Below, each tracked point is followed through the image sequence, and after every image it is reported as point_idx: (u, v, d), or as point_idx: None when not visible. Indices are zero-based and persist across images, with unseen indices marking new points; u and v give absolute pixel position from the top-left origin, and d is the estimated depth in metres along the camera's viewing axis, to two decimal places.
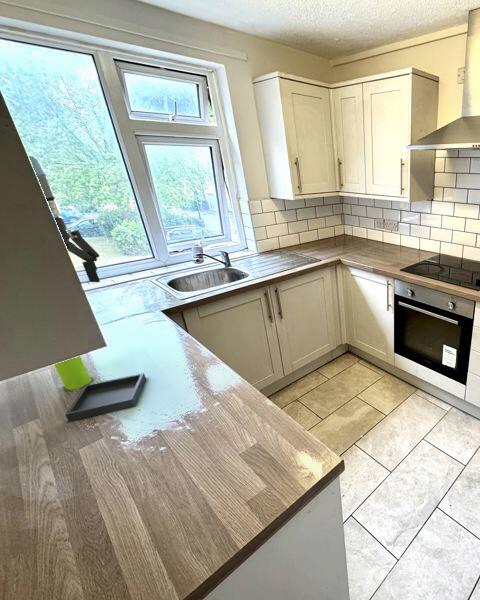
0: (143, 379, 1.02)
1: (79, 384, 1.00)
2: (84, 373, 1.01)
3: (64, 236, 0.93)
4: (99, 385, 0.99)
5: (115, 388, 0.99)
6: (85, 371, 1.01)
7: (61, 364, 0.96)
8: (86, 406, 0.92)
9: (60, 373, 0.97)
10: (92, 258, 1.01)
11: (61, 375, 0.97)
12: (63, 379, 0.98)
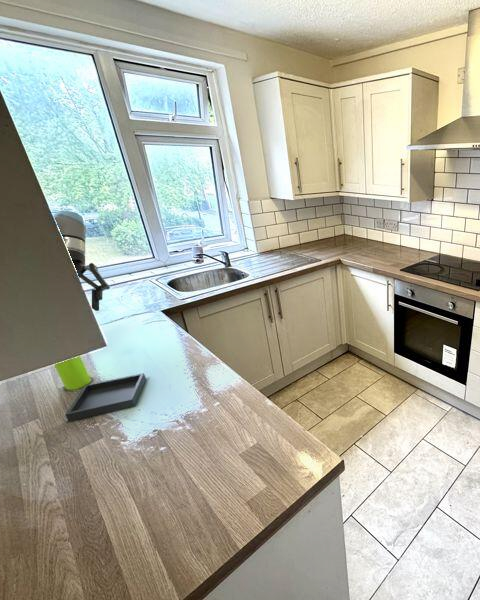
0: (143, 379, 1.02)
1: (79, 384, 1.00)
2: (84, 373, 1.01)
3: (76, 267, 1.07)
4: (99, 385, 0.99)
5: (115, 388, 0.99)
6: (85, 371, 1.01)
7: (61, 364, 0.96)
8: (86, 406, 0.92)
9: (60, 373, 0.97)
10: None
11: (61, 375, 0.97)
12: (63, 379, 0.98)
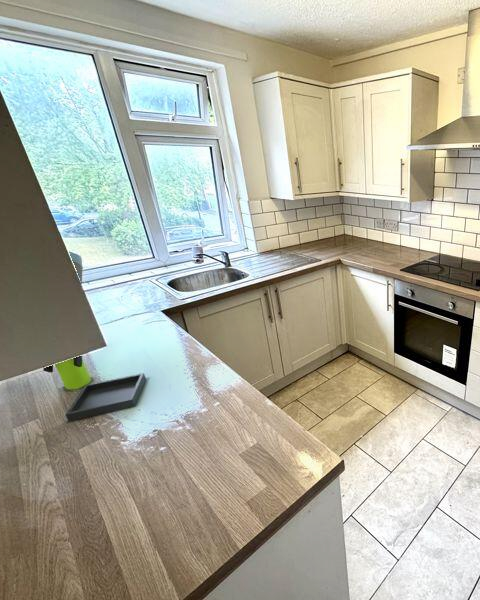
0: (143, 379, 1.02)
1: (79, 384, 1.00)
2: (85, 373, 1.01)
3: None
4: (99, 385, 0.99)
5: (115, 388, 0.99)
6: (85, 371, 1.01)
7: (62, 363, 0.96)
8: (86, 406, 0.92)
9: (60, 373, 0.97)
10: None
11: (61, 375, 0.97)
12: (63, 379, 0.98)
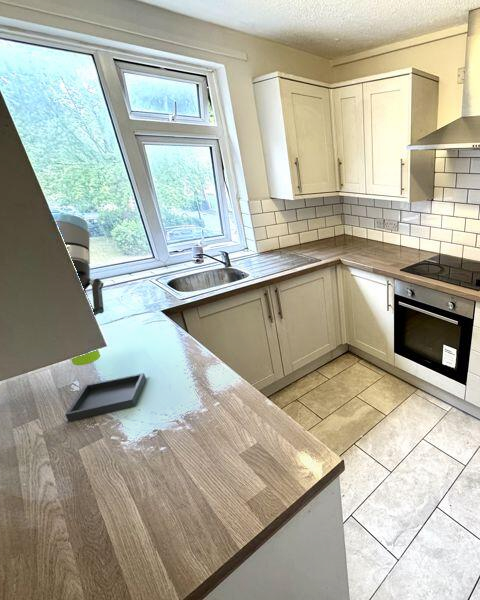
0: (143, 379, 1.02)
1: (88, 359, 0.91)
2: None
3: (80, 279, 0.92)
4: (99, 385, 0.99)
5: (115, 388, 0.99)
6: None
7: None
8: (86, 406, 0.92)
9: None
10: None
11: None
12: None
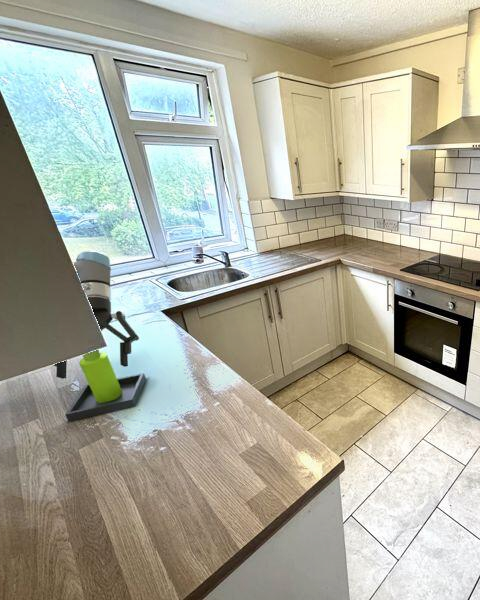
0: (143, 379, 1.02)
1: (111, 396, 0.94)
2: (116, 384, 0.95)
3: (102, 316, 0.94)
4: None
5: None
6: (116, 382, 0.95)
7: (93, 375, 0.90)
8: (86, 406, 0.92)
9: (91, 385, 0.91)
10: (125, 338, 0.94)
11: (92, 387, 0.91)
12: (94, 391, 0.92)
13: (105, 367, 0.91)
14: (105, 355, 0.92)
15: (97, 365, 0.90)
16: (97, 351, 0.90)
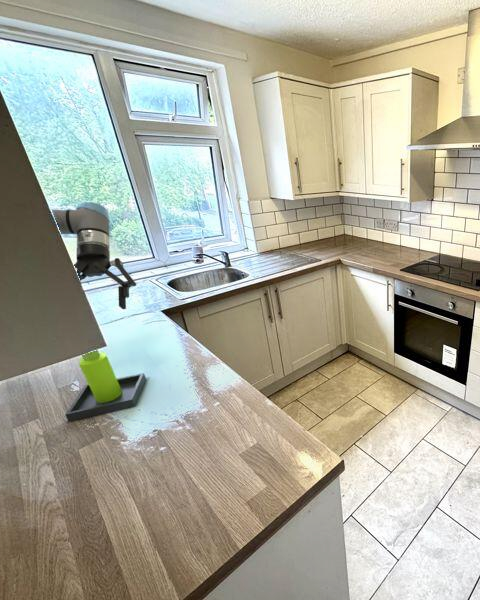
0: (143, 379, 1.02)
1: (110, 396, 0.94)
2: (116, 384, 0.95)
3: (101, 262, 1.00)
4: None
5: None
6: (116, 382, 0.95)
7: (93, 375, 0.90)
8: (86, 406, 0.92)
9: (91, 385, 0.91)
10: None
11: (92, 387, 0.91)
12: (94, 391, 0.92)
13: (104, 367, 0.91)
14: (104, 355, 0.92)
15: (96, 366, 0.90)
16: (96, 351, 0.90)
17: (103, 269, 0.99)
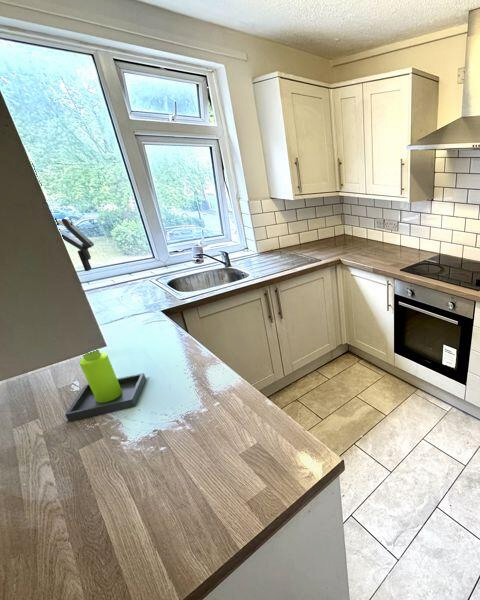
0: (143, 379, 1.02)
1: (110, 396, 0.94)
2: (116, 384, 0.95)
3: None
4: None
5: None
6: (116, 382, 0.95)
7: (93, 375, 0.90)
8: (86, 406, 0.92)
9: (91, 385, 0.91)
10: (81, 247, 1.01)
11: (92, 387, 0.91)
12: (94, 391, 0.92)
13: (105, 367, 0.91)
14: (105, 355, 0.92)
15: (97, 365, 0.90)
16: (97, 351, 0.90)
17: None
